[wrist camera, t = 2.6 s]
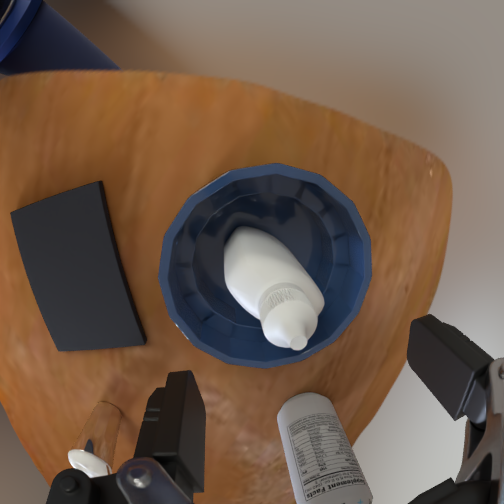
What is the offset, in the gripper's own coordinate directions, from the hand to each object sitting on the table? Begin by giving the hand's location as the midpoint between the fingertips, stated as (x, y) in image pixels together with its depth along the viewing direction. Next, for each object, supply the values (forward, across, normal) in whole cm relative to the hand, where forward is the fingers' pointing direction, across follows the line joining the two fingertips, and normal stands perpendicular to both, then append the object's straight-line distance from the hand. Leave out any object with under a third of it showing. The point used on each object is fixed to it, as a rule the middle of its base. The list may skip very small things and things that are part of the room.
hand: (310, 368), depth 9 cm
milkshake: (+14, +19, +15) cm, 28 cm away
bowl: (+14, 0, 0) cm, 14 cm away
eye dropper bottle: (+14, 0, 0) cm, 14 cm away
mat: (+14, +16, -1) cm, 21 cm away
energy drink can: (+14, -2, +18) cm, 23 cm away
